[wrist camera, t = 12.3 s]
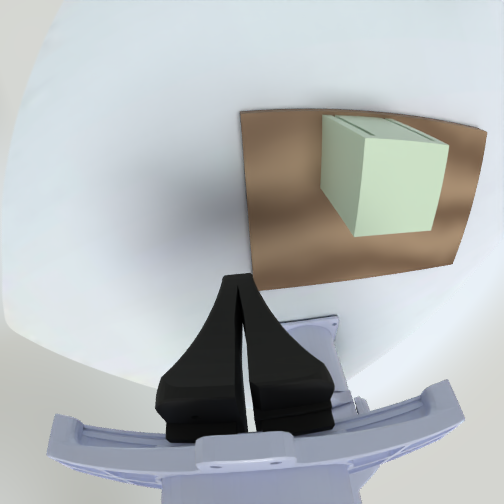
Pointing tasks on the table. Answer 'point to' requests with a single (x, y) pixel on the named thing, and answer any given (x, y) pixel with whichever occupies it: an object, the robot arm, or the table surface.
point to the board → (324, 214)
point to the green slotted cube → (381, 174)
